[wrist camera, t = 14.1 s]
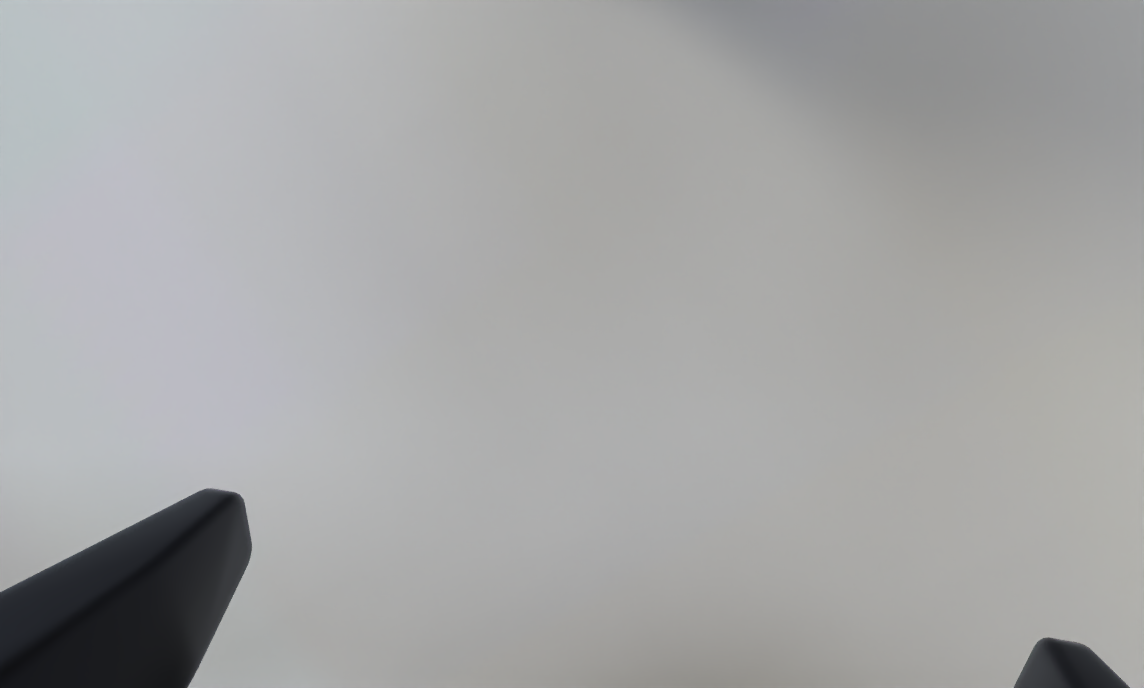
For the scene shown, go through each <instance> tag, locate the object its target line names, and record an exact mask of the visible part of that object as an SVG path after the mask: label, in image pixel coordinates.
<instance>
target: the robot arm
mask: <svg viewBox="0 0 1144 688" xmlns="http://www.w3.org/2000/svg"><path fill="white" fill-rule="evenodd" d="M251 551H252V542H251V536H250V531H249V525H248V520H247V514H246V508H245V503H244V500H243V498H242V497H241V496H240V495H239V494H237V493H235V492H229V491H224V490H218V489H212V488H211V489H204V490H201V491H199V492H197V493H195V494H193V495H191V496H189V497H187V498H185V499H183V500H181V501H179V502H177V503H175V504H173V505H171V506H169V507H167V508H165V509H164V510H162V511H160V512H158V513H156V514H154V515H152V516H150V517H148V518H146V519H144V520H142V521H140V522H138V523H136V524H134V525H132V526H130V527H128V528H126V529H124V530H122V531H120V532H118V533H116V534H114V535H112V536H110V537H108V538H106V539H104V540H102V541H101V542H99V543H97V544H95V545H93V546H91V547H89V548H87V549H85V550H83V551H81V552H79V553H77V554H75V555H73V556H71V557H69V558H67V559H65V560H63V561H61V562H59V563H57V564H55V565H53V566H51V567H49V568H47V569H45V570H43V571H41V572H39V573H38V574H36V575H34V576H32V577H30V578H28V579H26V580H24V581H22V582H20V583H18V584H16V585H14V586H12V587H10V588H8V589H6V590H4V591H2V592H0V688H187V687H188V686H189V684H190V682H191V680H192V679H193V677H194V675H195V673H196V671H197V669H198V667H199V665H200V663H201V661H202V659H203V657H204V655H205V653H206V651H207V649H208V647H209V645H210V642H211V640H212V638H213V636H214V634H215V632H216V630H217V628H218V626H219V624H220V622H221V620H222V617H223V615H224V613H225V611H226V609H227V607H228V605H229V603H230V601H231V599H232V597H233V595H234V593H235V590H236V588H237V586H238V584H239V582H240V580H241V578H242V576H243V574H244V572H245V570H246V568H247V565H248V563H249V560H250V556H251ZM1014 688H1130V687H1129V686H1128V685H1127V684H1126V683H1125V682H1124V681H1123V680H1122V679H1121V678H1120V677H1119V676H1118V675H1117V674H1116V673H1115V672H1114V671H1113V670H1111V669H1110V668H1109V667H1108V666H1107V665H1106V664H1105V663H1104V662H1103V661H1102V660H1101V659H1100V658H1099V657H1098V656H1097V655H1096V654H1095V653H1094V652H1093V651H1092V650H1091V649H1089V648H1088V647H1087V646H1085V645H1083V644H1080V643H1076V642H1070V641H1065V640H1059V639H1054V638H1043V639H1041V640H1040V641H1038V642H1037V644H1036V645H1035V647H1034V648H1033V650H1032V652H1031V654H1030V656H1029V658H1028V660H1027V662H1026V664H1025V666H1024V668H1023V670H1022V672H1021V674H1020V676H1019V678H1018V680H1017V682H1016V684H1015V686H1014Z"/></svg>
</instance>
